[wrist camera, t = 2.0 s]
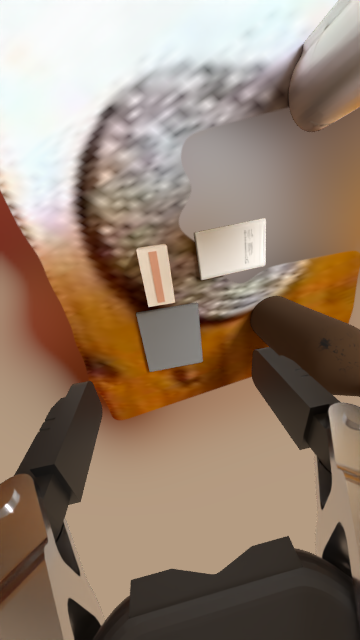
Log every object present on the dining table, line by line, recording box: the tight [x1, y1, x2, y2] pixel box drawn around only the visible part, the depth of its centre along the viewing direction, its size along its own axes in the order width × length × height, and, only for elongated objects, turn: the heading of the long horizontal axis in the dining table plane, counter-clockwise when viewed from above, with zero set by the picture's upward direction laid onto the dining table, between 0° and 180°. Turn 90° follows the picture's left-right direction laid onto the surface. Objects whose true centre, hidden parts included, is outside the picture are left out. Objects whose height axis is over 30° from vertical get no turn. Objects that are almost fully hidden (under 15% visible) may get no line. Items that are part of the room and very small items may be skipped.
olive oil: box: [251, 296, 360, 397], centre depth 31 cm, size 11×11×25 cm
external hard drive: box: [194, 218, 266, 280], centre depth 35 cm, size 2×8×12 cm
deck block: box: [136, 244, 175, 307], centre depth 32 cm, size 9×4×5 cm, turn 8°
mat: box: [136, 303, 203, 372], centre depth 40 cm, size 14×12×1 cm
